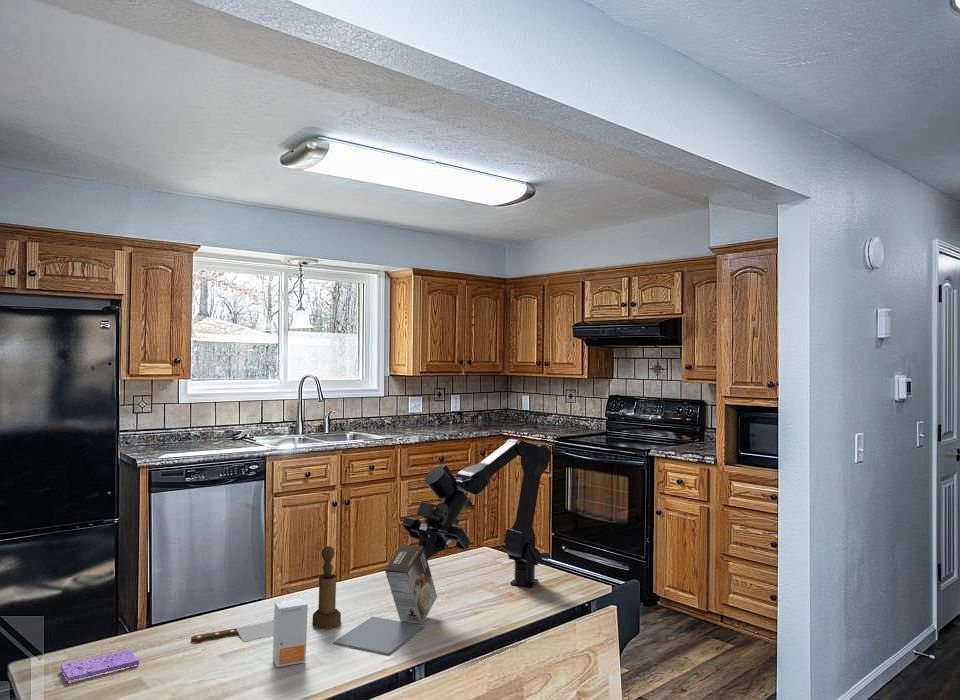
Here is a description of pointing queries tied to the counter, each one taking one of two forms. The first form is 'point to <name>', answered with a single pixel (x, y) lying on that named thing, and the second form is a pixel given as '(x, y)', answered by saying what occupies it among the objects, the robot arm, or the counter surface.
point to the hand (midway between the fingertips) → (418, 561)
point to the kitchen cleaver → (240, 633)
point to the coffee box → (411, 583)
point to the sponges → (99, 665)
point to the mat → (379, 635)
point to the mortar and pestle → (327, 595)
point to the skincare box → (290, 632)
